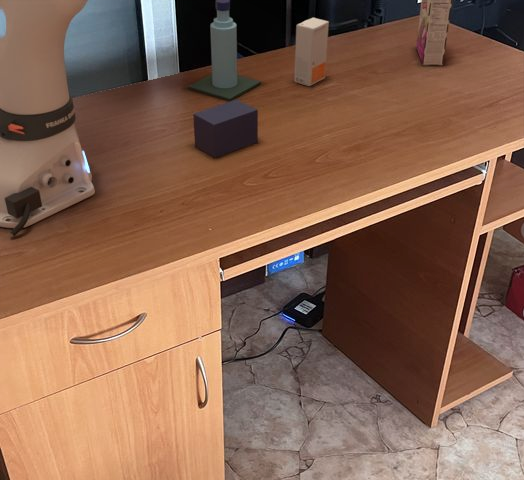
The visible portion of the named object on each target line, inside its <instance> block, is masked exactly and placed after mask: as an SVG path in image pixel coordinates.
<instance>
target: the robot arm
mask: <svg viewBox="0 0 524 480" xmlns="http://www.w3.org/2000/svg"><path fill="white" fill-rule="evenodd" d="M88 1H89V0H0V10H2V11H3V13H4V16H5V34H4V35H3V36H2V37H0V228H7V229H12V230H11V231H10V232H9V234H11V235H12V236H14V237H16V235H17V234H19V232H21V230H22V229H23V228H27V227H29V226H31V225H34V224H36V223H38V222H40V221H42V220H44V219H46V218H48V217H51V216H53V215H55V214H57V213H58V212H61V211H63V210H65V209H67V208H69V207H71V206H73V205H75V204H78V203H80V202H81V201H84V200H86V199H87V198H90V197H92V196H94V195H95V193H96V190H95V187H94V184H93V183H92V181H93V174H92V172H91V170H90V166H89V164H88V160H87V157H86V154H85V150H83V148H82V145H81V141H80V138H79V135H78V132H77V128H76V125H75V122H76V118H77V117H76V109H75V105H74V100H73V97H72V95H71V94H70V91H69V84H68V78H67V69H66V61H65V42H66V35H67V31H68V28H69V26H70V24H71V22H72V20H73V19H74V18H75V17H76V15H78V14H79V13H81V11H82V10H83V9H84V8H85V6H86V4H87V3H88Z"/></svg>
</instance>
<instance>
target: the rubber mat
mask: <svg viewBox="0 0 524 480" xmlns="http://www.w3.org/2000/svg"><path fill="white" fill-rule="evenodd" d="M261 84H262V81H260V80H257V79H253V78H249V77H247V76H242V75H238V74H237V85H236V86H235V87H232V88H217V87H215V86H213V84H212V73H211V74H209V75H207V76H205V77H203V78H201V79H199V80H197V81H195V82H193V83H191V84H189V85H187V89H188V90H190V91H194V92H197V93H201V94H204V95H208V96H211V97H214V98H216V99H217V98H218V99H221V100H224V101H228V102H230V101H233V100H236V99H237V98H238V97H240V96H243V95H245V94H246V93H248V92H250V91H251V90H252V89H255V88H257V87H259V86H260V85H261Z"/></svg>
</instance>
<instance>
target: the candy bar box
mask: <svg viewBox="0 0 524 480" xmlns="http://www.w3.org/2000/svg"><path fill="white" fill-rule="evenodd" d="M452 5H453V0H421V1H420V10H419V18H418V19H419V20H418V28H417V35H416V45H415V49H416V51H417V55H418V57H419V59H420V62H421V65H422V66H425V67H429V66H432V67H433V66H434V67H437V66H443V65H444V61H445V60H444V59H445V54H446V47H447V40H448V34H449V28H450V27H449V26H450V20H451V13H452Z"/></svg>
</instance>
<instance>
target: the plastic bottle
mask: <svg viewBox="0 0 524 480" xmlns="http://www.w3.org/2000/svg"><path fill="white" fill-rule="evenodd" d="M230 9H231V0H215V10H216V17H214V18H213V22H211V23H210V25H209V26H210V28H209V29H210V50H211V51H210V55H211V74H212V84H213V86H215V87H217V88H232V87H235V86H236V85H237V75H238V40H237V39H238V38H237V37H238V36H237V35H238V33H237V31H238V30H237V23H236V22H234V19H233V18H232V17H230Z"/></svg>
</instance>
